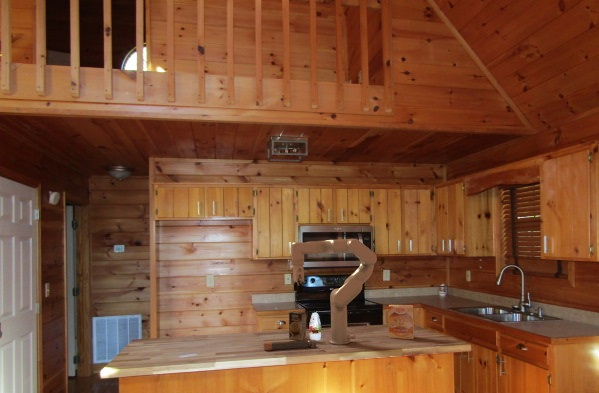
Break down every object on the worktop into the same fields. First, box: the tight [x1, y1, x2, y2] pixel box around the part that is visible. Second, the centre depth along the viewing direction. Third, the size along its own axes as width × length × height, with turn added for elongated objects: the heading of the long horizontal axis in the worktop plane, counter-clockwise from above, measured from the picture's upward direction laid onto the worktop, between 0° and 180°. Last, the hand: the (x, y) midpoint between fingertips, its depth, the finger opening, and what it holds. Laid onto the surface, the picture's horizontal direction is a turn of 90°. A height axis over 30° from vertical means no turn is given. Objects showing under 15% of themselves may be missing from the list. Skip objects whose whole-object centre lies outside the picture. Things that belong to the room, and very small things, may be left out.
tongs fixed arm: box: [265, 339, 317, 349], centre depth 256 cm, size 30×4×4 cm, turn 103°
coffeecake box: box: [387, 304, 415, 340], centre depth 280 cm, size 15×7×20 cm, turn 73°
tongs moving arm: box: [263, 339, 313, 351], centre depth 254 cm, size 27×2×4 cm, turn 102°
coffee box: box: [288, 311, 307, 341], centre depth 279 cm, size 9×6×16 cm
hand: (298, 291), depth 269 cm, fingers open, 9 cm apart
